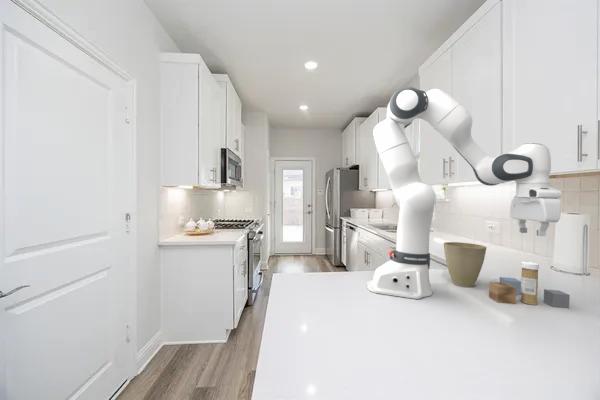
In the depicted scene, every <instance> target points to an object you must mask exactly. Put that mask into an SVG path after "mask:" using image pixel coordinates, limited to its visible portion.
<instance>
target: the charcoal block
mask: <svg viewBox="0 0 600 400" xmlns="http://www.w3.org/2000/svg"><path fill="white" fill-rule="evenodd" d="M570 295H571V294H570V293H569V294H568V293H567V292H564V291H563V290H559V289H558V290H555V289H547V288H544V289H543V303H544V304H546V305H548V306H550V307H552V308H557V309H570Z"/></svg>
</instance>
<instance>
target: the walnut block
mask: <svg viewBox="0 0 600 400" xmlns="http://www.w3.org/2000/svg"><path fill="white" fill-rule="evenodd" d="M488 292H489V293H488V297H489V299H491V300H492V301H494V302H496V303H498V304H506V305H507V304H508V305H517V295H516V287H514V286H512V285H510V284H508V283H501V282H499V281H489V291H488Z"/></svg>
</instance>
